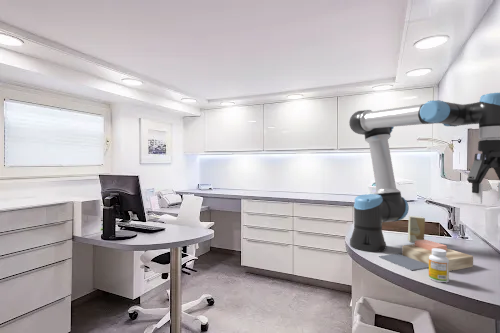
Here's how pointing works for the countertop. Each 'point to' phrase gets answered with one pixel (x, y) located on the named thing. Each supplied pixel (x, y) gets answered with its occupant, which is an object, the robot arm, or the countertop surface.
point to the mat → (405, 261)
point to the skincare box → (416, 228)
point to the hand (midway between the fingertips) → (490, 202)
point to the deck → (455, 257)
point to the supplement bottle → (439, 265)
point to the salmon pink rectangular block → (430, 245)
